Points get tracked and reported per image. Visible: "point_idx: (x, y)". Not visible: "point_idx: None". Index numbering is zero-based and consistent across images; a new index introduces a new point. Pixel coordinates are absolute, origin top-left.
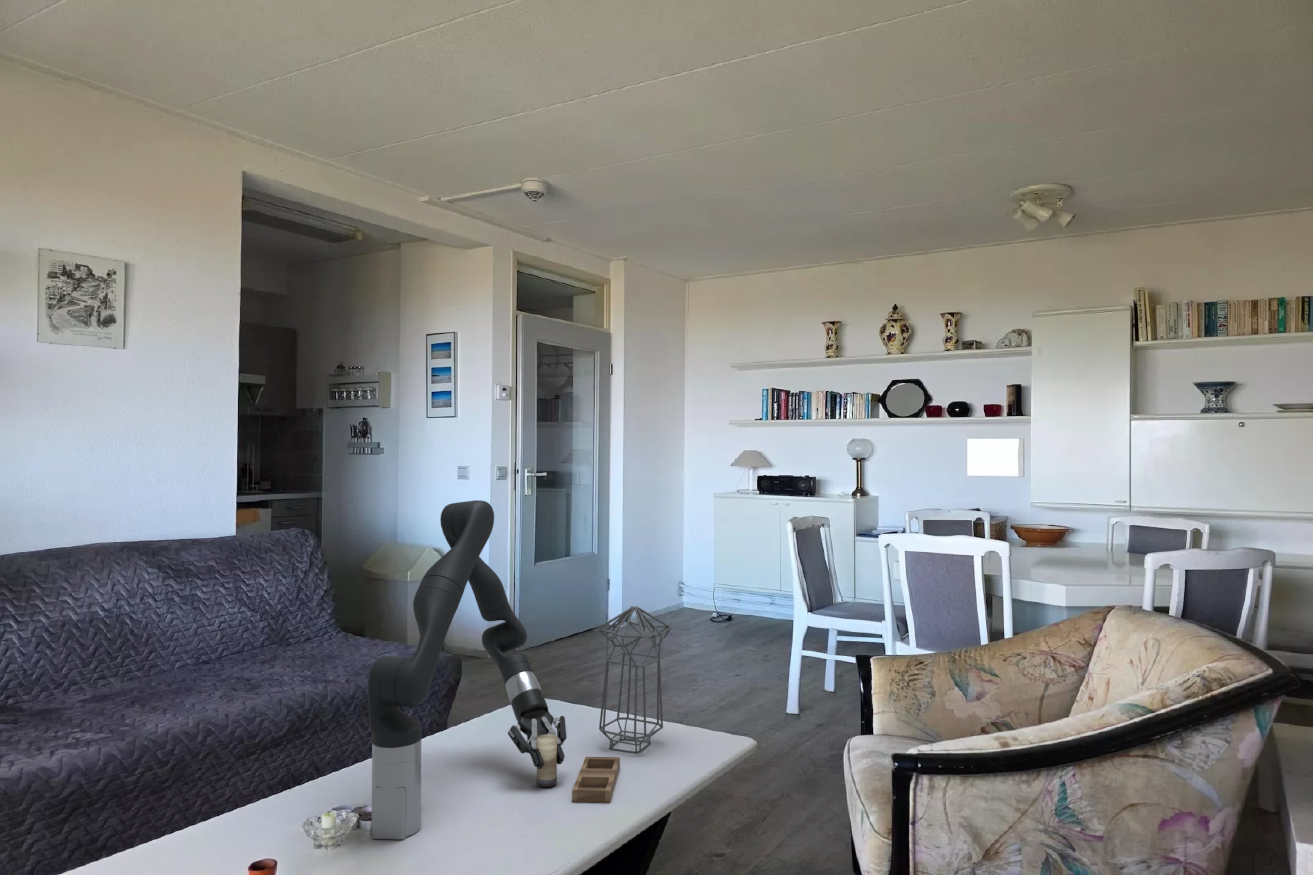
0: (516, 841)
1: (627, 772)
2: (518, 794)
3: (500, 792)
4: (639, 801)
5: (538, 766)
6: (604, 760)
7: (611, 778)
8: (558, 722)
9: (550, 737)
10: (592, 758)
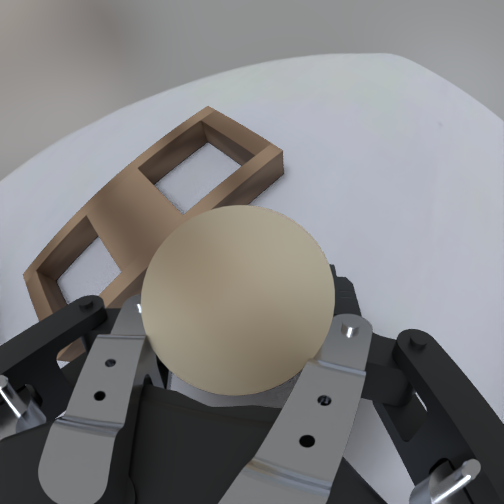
0: (455, 122)
1: None
2: (389, 328)
3: None
4: (167, 111)
5: None
6: (47, 295)
7: (141, 159)
8: (8, 384)
9: (208, 268)
10: None
